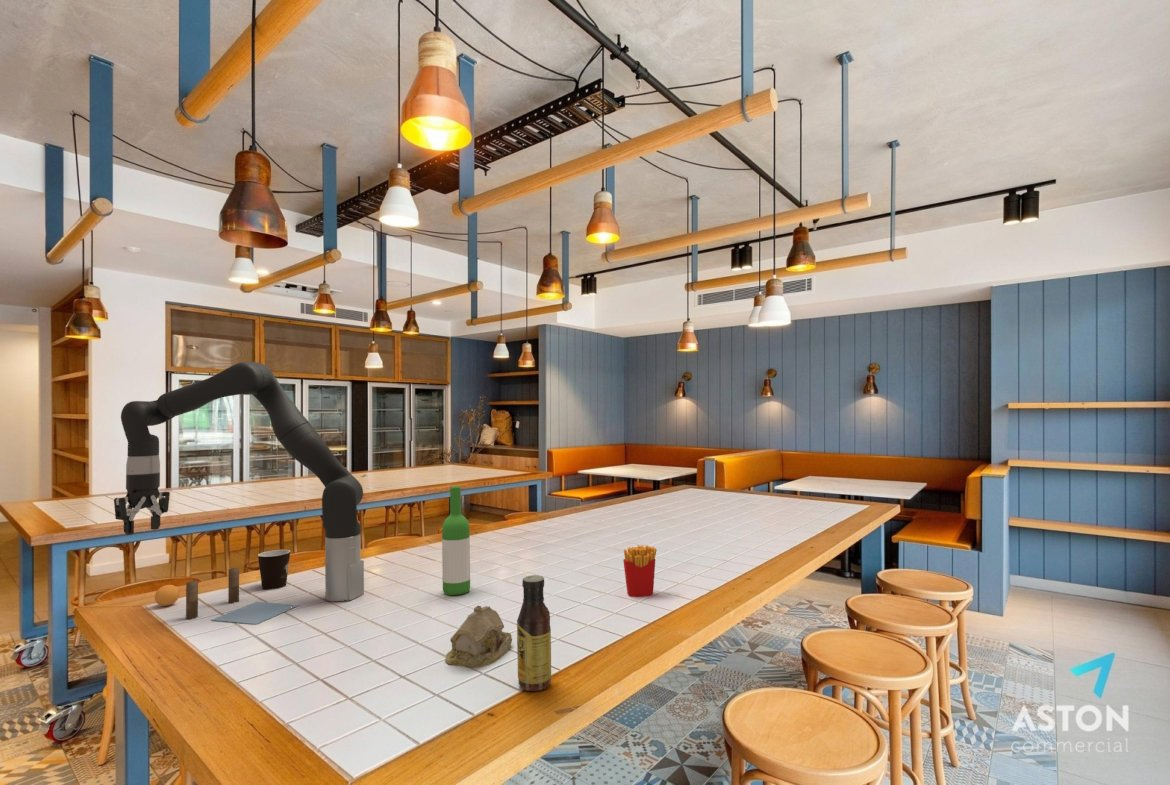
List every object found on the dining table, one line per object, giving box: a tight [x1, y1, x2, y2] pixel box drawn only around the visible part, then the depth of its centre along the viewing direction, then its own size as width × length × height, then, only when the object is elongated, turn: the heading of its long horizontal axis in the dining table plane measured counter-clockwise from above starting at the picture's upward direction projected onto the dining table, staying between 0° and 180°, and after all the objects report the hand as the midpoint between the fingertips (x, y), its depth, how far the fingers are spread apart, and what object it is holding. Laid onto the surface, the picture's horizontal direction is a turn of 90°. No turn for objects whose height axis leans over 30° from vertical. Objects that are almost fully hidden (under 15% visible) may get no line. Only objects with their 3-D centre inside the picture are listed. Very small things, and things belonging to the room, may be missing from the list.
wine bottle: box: [441, 485, 471, 596], centre depth 161 cm, size 8×8×30 cm
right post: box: [227, 567, 240, 604], centre depth 156 cm, size 2×2×9 cm
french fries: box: [622, 544, 657, 598], centre depth 156 cm, size 9×4×13 cm, turn 100°
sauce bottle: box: [516, 574, 552, 692], centre depth 104 cm, size 6×6×20 cm
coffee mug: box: [257, 549, 291, 591], centre depth 172 cm, size 12×9×10 cm
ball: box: [154, 584, 180, 607], centre depth 154 cm, size 6×6×6 cm
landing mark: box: [211, 601, 299, 625], centre depth 147 cm, size 14×14×1 cm
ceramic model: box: [444, 605, 513, 668], centre depth 119 cm, size 14×11×10 cm
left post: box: [185, 580, 199, 620], centre depth 144 cm, size 2×2×9 cm
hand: (142, 531), depth 157 cm, fingers open, 6 cm apart
